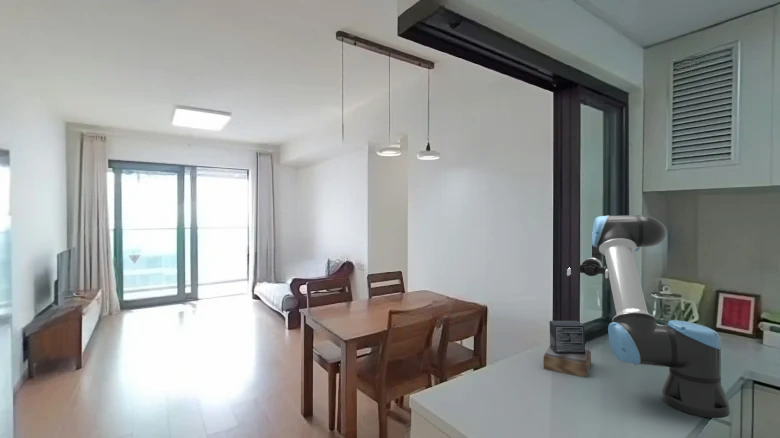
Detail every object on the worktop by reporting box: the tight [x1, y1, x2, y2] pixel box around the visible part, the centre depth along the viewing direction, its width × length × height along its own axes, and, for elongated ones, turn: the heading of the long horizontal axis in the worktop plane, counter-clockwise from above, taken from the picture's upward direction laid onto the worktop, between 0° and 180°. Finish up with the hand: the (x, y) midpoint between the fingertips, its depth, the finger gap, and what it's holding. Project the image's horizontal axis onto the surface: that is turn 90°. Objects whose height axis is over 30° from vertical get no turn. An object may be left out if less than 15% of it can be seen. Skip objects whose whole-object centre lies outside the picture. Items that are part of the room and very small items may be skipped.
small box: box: [549, 320, 586, 354], centre depth 135 cm, size 11×6×10 cm, turn 84°
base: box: [543, 345, 592, 378], centre depth 135 cm, size 14×14×6 cm
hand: (586, 273), depth 147 cm, fingers open, 13 cm apart
